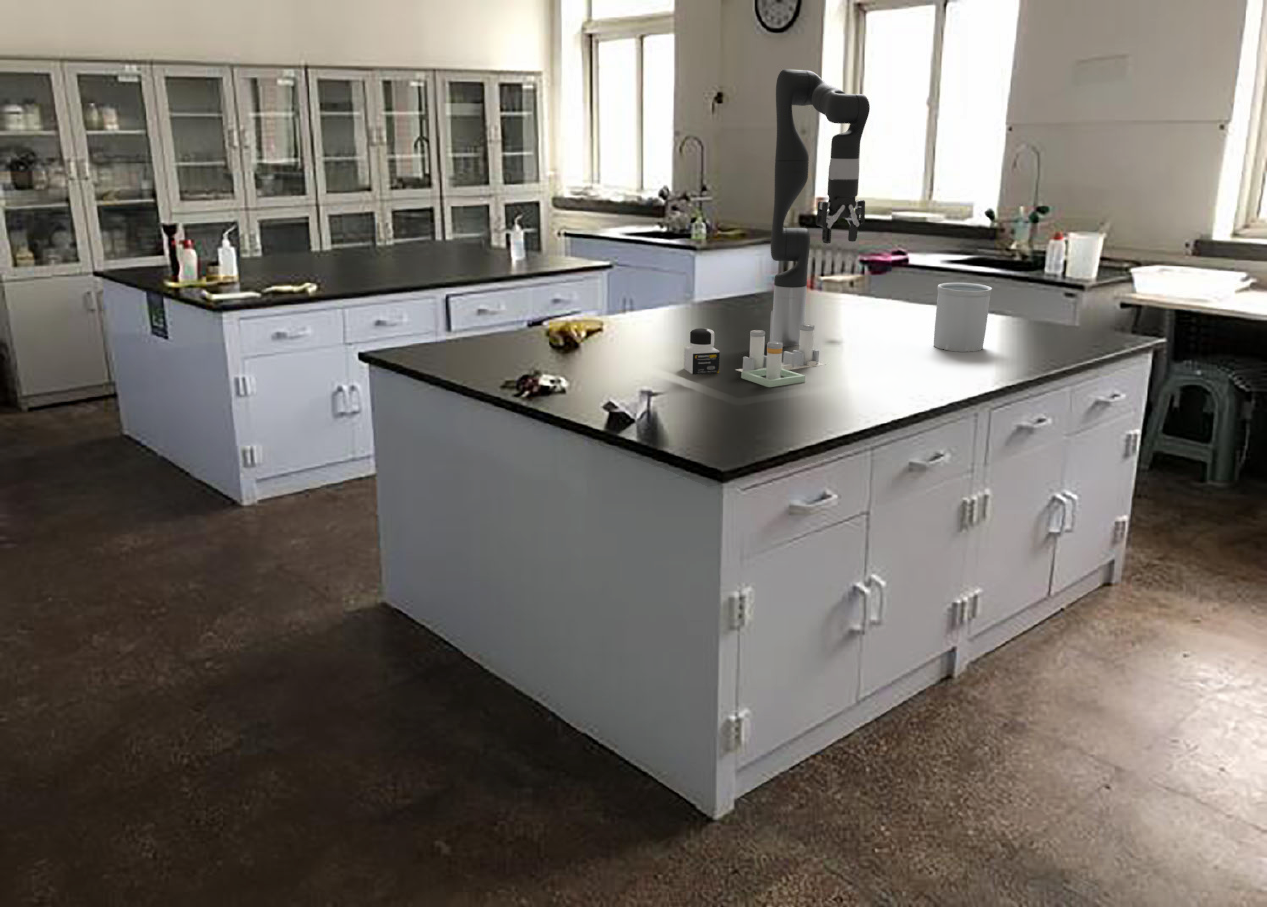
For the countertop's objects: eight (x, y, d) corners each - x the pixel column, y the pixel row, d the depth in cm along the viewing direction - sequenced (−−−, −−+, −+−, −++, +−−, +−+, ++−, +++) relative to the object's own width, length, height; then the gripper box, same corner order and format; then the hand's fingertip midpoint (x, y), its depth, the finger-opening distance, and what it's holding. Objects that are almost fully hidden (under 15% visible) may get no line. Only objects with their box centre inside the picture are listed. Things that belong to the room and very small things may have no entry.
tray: (741, 383, 256) (741, 371, 256) (776, 378, 262) (776, 366, 261) (768, 393, 247) (769, 380, 247) (804, 387, 253) (805, 375, 252)
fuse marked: (771, 385, 252) (773, 345, 249) (762, 382, 255) (764, 342, 252) (783, 383, 254) (785, 343, 251) (774, 380, 257) (776, 340, 254)
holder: (734, 375, 265) (735, 356, 263) (808, 364, 277) (809, 346, 275) (751, 380, 259) (752, 361, 258) (825, 370, 271) (826, 351, 269)
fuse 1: (745, 369, 264) (747, 330, 261) (757, 368, 266) (759, 329, 263) (754, 372, 261) (756, 333, 258) (766, 371, 263) (768, 332, 260)
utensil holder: (996, 350, 295) (1003, 289, 290) (951, 354, 291) (957, 291, 286) (965, 340, 309) (971, 281, 303) (921, 343, 304) (927, 283, 299)
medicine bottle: (692, 380, 260) (693, 332, 256) (683, 374, 266) (684, 327, 263) (719, 378, 262) (720, 331, 258) (709, 372, 268) (711, 326, 264)
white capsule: (795, 363, 272) (797, 325, 269) (806, 361, 274) (808, 323, 271) (804, 365, 269) (806, 327, 266) (815, 364, 271) (817, 326, 268)
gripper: (854, 176, 270) (850, 239, 274) (811, 177, 263) (808, 242, 267) (874, 177, 263) (870, 242, 268) (831, 178, 256) (827, 245, 261)
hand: (839, 242), depth 268 cm, fingers open, 8 cm apart
